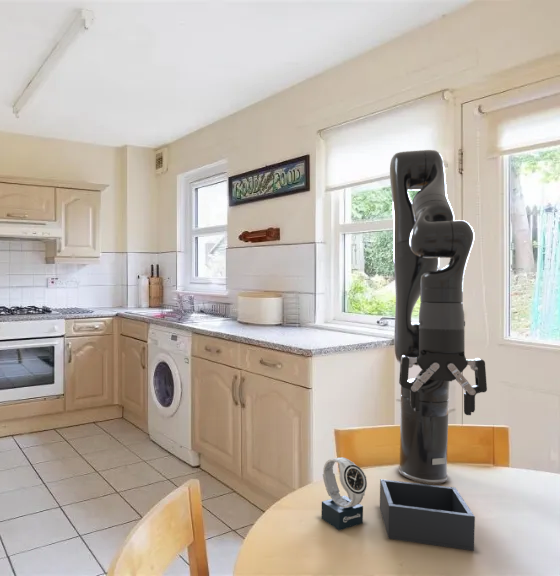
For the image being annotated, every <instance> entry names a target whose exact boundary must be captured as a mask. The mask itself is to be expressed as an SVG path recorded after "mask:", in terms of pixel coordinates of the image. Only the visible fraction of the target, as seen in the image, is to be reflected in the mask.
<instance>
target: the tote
mask: <svg viewBox="0 0 560 576" xmlns="http://www.w3.org/2000/svg"><path fill="white" fill-rule="evenodd" d="M379 510H380V514H381V516H382V521H383V524H384V528H385V532H386V535H387V538H388V540H396V541H403V542H408V543H417V544H423V545H430V546H438V547H444V548H451V549H457V550H465V551H470V552H474V551H475V527H476V524H475V523H476V516H475V514H474V513H473V512H472V510H471V508H470V507H469V506H468V503H466V501H465V499H464V498H463V496H462V495H461V494H460V492H459V490H458V489H457V488H456V487H454V486H445V485H438V484H428V483H420V482H409V481H401V480H400V481H399V480H392V479H384V478H383V479H382V478H381V479H379Z"/></svg>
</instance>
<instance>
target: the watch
mask: <svg viewBox="0 0 560 576" xmlns="http://www.w3.org/2000/svg"><path fill="white" fill-rule="evenodd" d="M335 463H337V464H338V465H337V468H338V470H339V482H340V485H341V487H342V488H343V490H344V491H345V492H346V494H347V495H341V493H340V489H339V486H338V482H337V479H336V475H335V472H334V465H335ZM322 471H323V472H322V480H323V483H324V487H325V490H326V493H327V495H328V497H330V499H325V500H322V501H321V517H320V518H321V520H323V521H324V522H326V523H327V524H328V525H331V527H333V528H335V529H336V530H338V531H342V530H346V529H349V528H351V527H356V526H359V525H362V524H363V523H364V506H363V504H360V503H361V502H362V501H363V499H364V497H365V495H366V491H367V487H368V479H367V476H366V474H365V473H364V470H362V468H361V467H360V466H358V465H357V464H355V462H354V461H351V460H350V459H348V458H346V457H342V456H340V457H335V458H331V459H328V460H327V461H325V463H324V464H323V470H322Z"/></svg>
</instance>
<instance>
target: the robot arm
mask: <svg viewBox="0 0 560 576" xmlns="http://www.w3.org/2000/svg"><path fill="white" fill-rule="evenodd" d="M389 180H390V181H389V182H390V192H391V201H392V202H391V203H392V215H393V243H392V244H393V247H392V248H393V249H392V251H393V271H394V282H395V283H394V286H395V287H394V288H395V289H394V290H395V307H394V310H395V311H394V333H393V334H394V338H393V340H394V341H393V344H394V345H393V346H394V347H393V348H394V356H395V359H396V360H397V362H398V363H399V364H400V365H399V379H398V383H399V385H400V416H399V417H400V418H399V419H400V422H399V462H398V463H399V465H398V472H399V474H400V475H401V476H403V477H404V478H406V479H409V480H411V481H414V482H416V483H421V484H428V485H438V484H444V483H446V482H447V481H448V451H449V449H448V448H449V447H448V446H449V442H448V441H449V402H450V401H449V398H450V382H453V381H456V382H457V383H458V384H459V385H460V386H461V388H462V389H463V391H465V392H464V393H463V414H464V415H466V416H472V413H475V411H476V395H478V394H482V393H486V392H487V391H488V386H487V371H486V362H485V360H484V359H483V358H482V359H481V358H479V357H475V358H469V359H468V358H466V355H465V353H466V352H465V347H466V346H465V340H466V339H465V327H466V321H465V310H464V303H463V302H464V298H463V297H464V289H463V288H464V275H465V270H466V267H467V263H468V260H469V257H470V253H471V251H472V248H473V246H474V241H475V232H474V229H473V226H471V225H470V223H469V222H467V221H465V220H460V219H458V220H457V219H456V220H455V214H454V211H453V208H452V206H451V203H450V201H449V199H448V194H447V184H446V183H447V182H446V173H445V165H444V160H443V157H442V155H441V153H440V152H439V151H437V150H435V149H422V150H421V149H420V150H407V151H399V152H395V153H394V154H393V156H392V157H391V159H390V164H389ZM408 191H417V192H416V194H415V195H414V197H413V199H412V200H411V197H410V194H409V192H408ZM440 259H449V262H448V264H447V265H446V266H445V267H443V268H440V269H439V267H440ZM419 299H420V301H419ZM418 301H419V302H420V303H419V313H418V322H412V317H413V311H414V308H415V306H416V304H417V302H418ZM414 366H418V367H419V368H420V369H421V370H420V371H419V372H418V374H417V375H416V376H415V377H413V378H409V372H410V371H409V370H410V369H411V368H413V367H414ZM468 366H469V367H470V369H471V370H472V371H473V372H474V382H475V384H473V385H471V383H470V382H469V381H468V380H467V378H466V377H465V376H464V375H463V374H462V373H463V372H464V370H465V369H466V368H467V367H468Z"/></svg>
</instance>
